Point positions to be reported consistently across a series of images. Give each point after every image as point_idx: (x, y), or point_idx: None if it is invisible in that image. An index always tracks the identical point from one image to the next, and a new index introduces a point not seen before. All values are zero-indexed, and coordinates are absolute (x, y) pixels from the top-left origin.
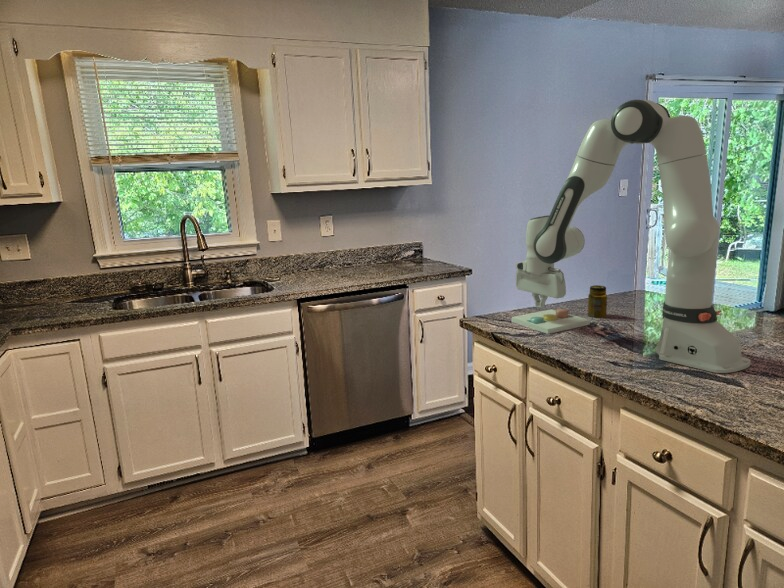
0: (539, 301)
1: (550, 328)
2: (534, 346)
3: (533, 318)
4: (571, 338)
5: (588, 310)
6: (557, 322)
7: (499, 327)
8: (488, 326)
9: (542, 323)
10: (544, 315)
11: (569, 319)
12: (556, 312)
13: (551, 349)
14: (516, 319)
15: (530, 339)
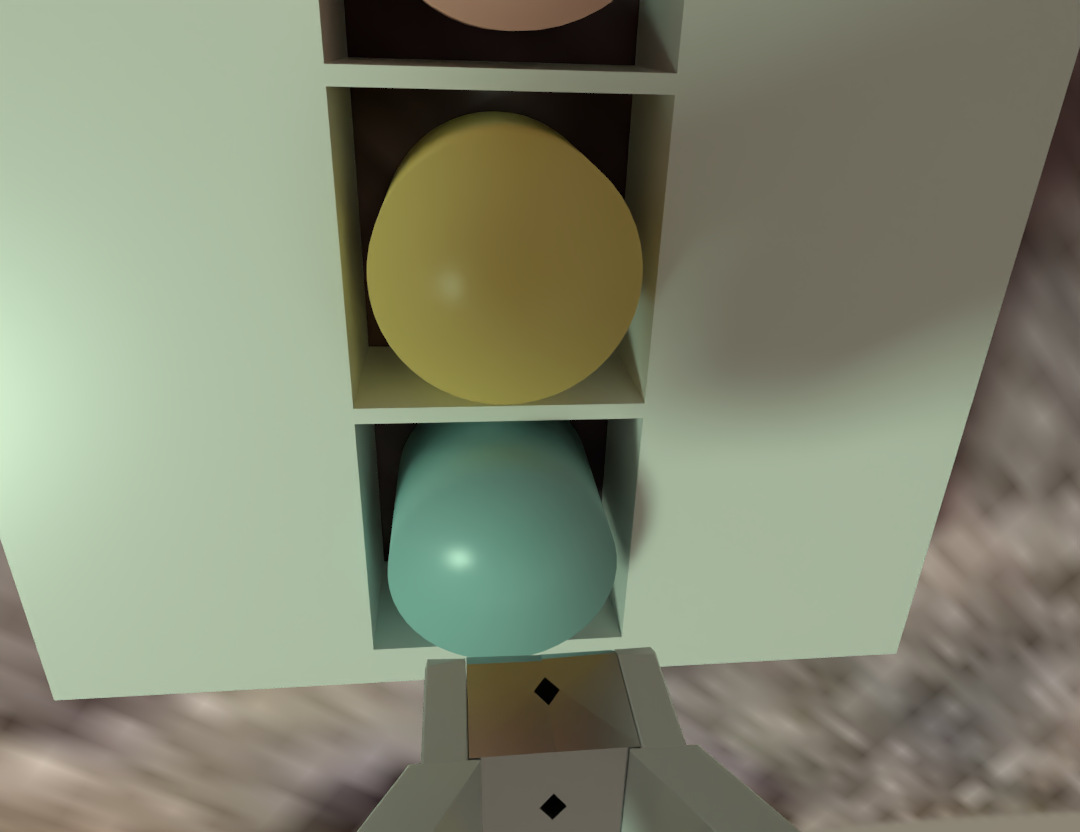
0: (534, 808)
1: (902, 611)
2: (894, 786)
3: (474, 618)
4: (1057, 362)
5: None
6: (787, 336)
7: (120, 741)
8: (12, 809)
9: (652, 550)
10: (425, 349)
11: None
12: (474, 24)
13: (1060, 727)
14: (197, 685)
15: (725, 715)
